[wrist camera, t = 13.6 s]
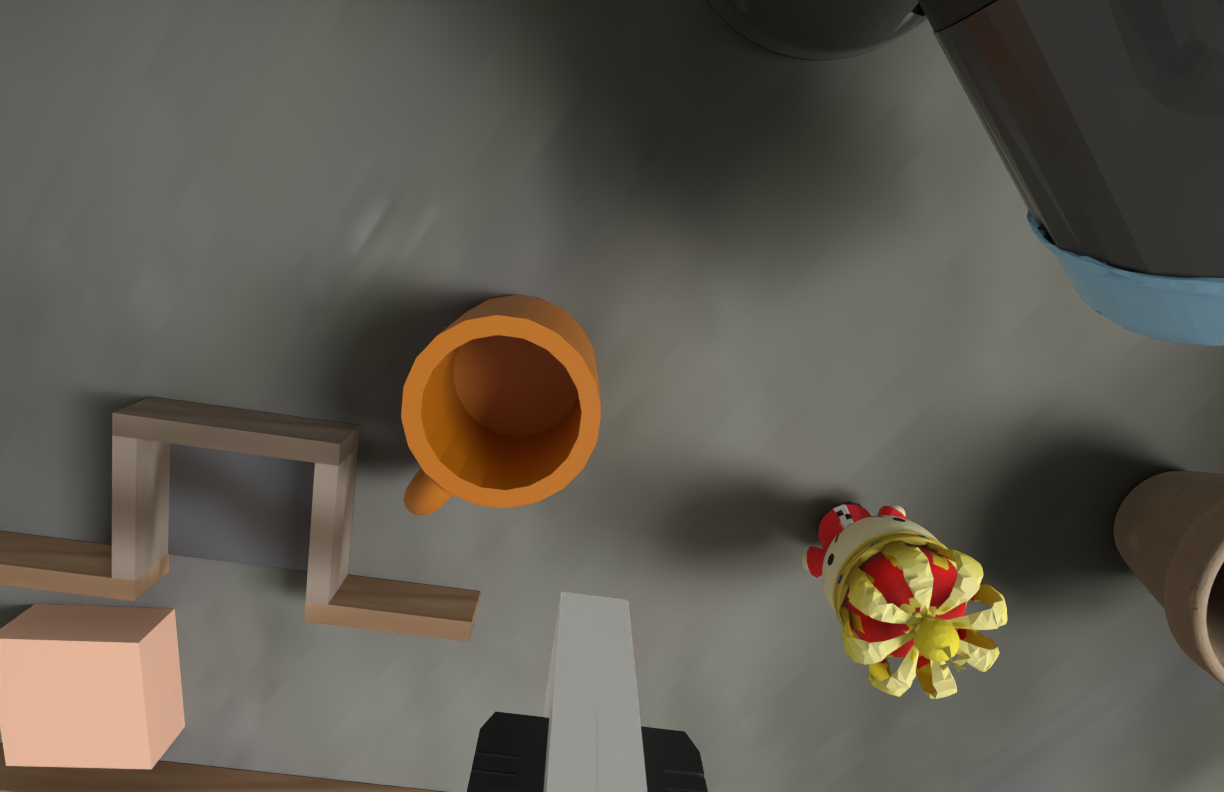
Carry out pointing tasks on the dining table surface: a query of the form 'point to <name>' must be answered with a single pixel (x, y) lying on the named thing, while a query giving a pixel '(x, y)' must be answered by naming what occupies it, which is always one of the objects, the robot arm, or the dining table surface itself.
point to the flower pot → (1180, 556)
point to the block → (89, 686)
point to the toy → (903, 598)
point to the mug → (501, 406)
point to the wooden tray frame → (226, 553)
